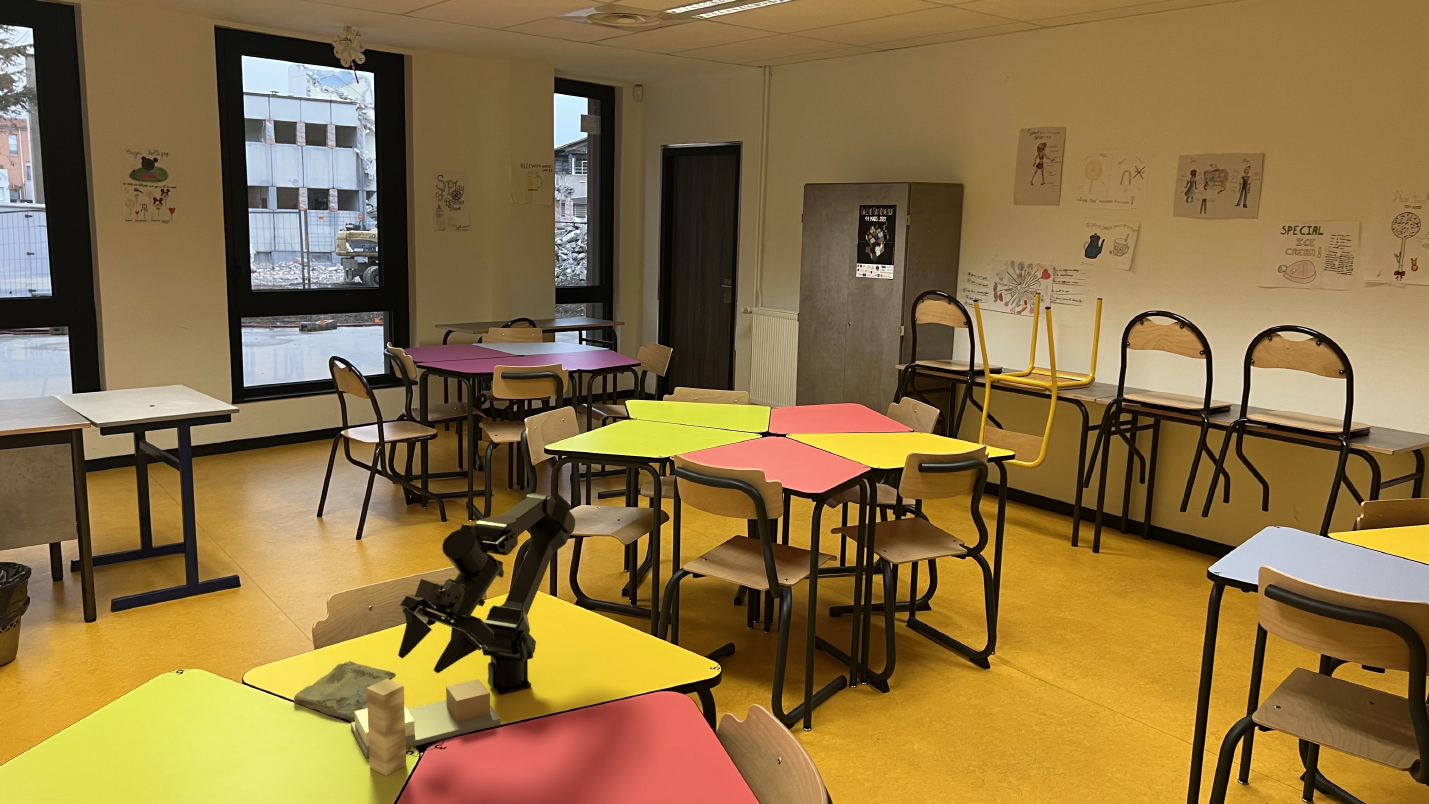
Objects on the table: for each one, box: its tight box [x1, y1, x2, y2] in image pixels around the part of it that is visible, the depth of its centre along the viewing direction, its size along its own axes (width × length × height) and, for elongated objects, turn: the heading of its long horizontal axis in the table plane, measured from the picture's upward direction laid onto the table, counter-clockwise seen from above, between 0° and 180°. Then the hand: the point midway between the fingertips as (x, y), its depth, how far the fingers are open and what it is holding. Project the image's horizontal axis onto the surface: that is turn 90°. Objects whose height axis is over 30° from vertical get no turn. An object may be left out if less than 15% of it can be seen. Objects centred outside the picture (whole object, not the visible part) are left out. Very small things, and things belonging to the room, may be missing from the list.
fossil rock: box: [293, 660, 397, 722], centre depth 185 cm, size 18×15×2 cm
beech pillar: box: [367, 679, 407, 777], centre depth 161 cm, size 4×4×14 cm
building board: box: [350, 678, 502, 759], centre depth 174 cm, size 23×11×5 cm, turn 122°
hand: (417, 664), depth 166 cm, fingers open, 9 cm apart
